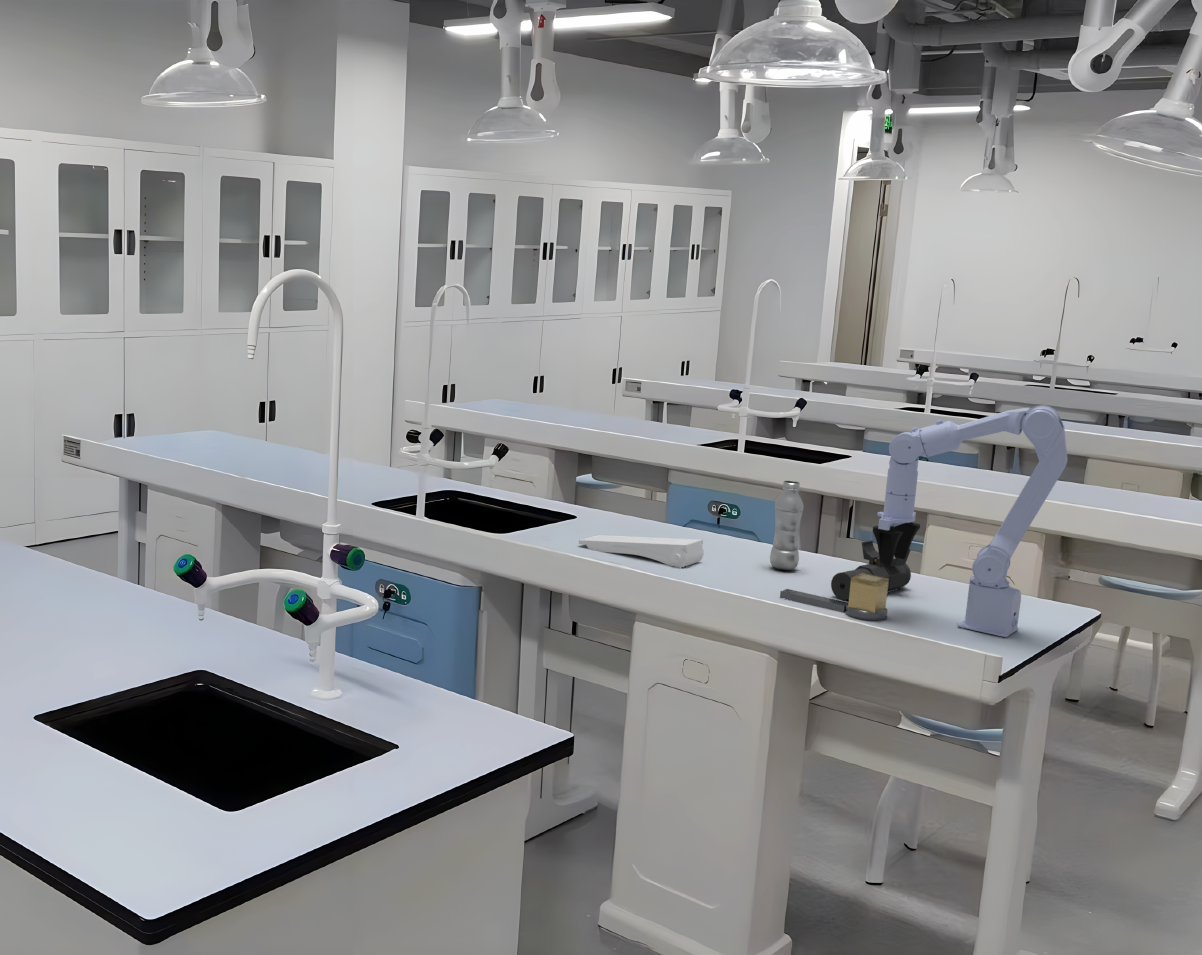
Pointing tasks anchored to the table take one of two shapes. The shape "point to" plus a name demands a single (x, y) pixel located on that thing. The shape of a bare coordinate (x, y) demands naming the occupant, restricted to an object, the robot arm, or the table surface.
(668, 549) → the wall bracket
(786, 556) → the plastic bottle
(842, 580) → the laser sight
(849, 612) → the ratchet
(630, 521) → the table surface
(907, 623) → the table surface
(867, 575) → the wood grain cube
